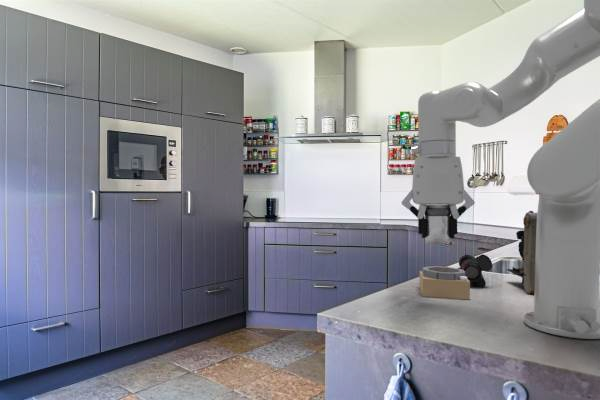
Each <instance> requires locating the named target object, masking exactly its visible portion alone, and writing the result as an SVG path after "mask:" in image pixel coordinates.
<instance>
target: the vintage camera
mask: <svg viewBox="0 0 600 400" xmlns="http://www.w3.org/2000/svg"><path fill="white" fill-rule="evenodd" d="M523 226H524V227H523V229H522V230H518V231H516V232H515V233H516V234H515V235H516V238H517V240H520V241H519V242H518V246H517V247H518V253H519V255H520V258H521V261H522V263H523V265H522V266H521V267H520V268H519V267H518V268H517V267H513V266H512V268H506V271H508V272H510V273H512V274H513V275H516V276H518V277H520V278H522V280H521V284H523V287H524V288H523V289H524V292H525V294H529V295H530V294H531V295H532V294H533V295H534V292H535V256H536V227H537V212H534V211H533V210H529V211H528V212H525V215H524V217H523Z"/></svg>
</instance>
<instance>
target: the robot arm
mask: <svg viewBox="0 0 600 400" xmlns="http://www.w3.org/2000/svg"><path fill="white" fill-rule="evenodd" d="M599 57H600V0H583V7H582V8H580V9H579V10H577V11H576V12H575V13H574V14H573V13H572V15H570V16H568V17H567V18H565V19H563V20H562V21H561V22H559V23H558V24H556V25H555V26H553V27H552V28H550V29H548V30H547V31H545V32H544V33H542V34H540V35H539V36H537V37H536V38H535V39H534V40H532V42H531V44H529V46H528V48H527V50H526V52H525V54H524V56H523V58H522V60H521V62H520V63H519V65H517V67H516V68H515V69H514V70H513V71H512V72H511V73H510V74H508V75H507V76H506V77H505V78H503V79H501V81H500V80H499V82H497V83H496V84H494V85H492V86H491V87H489V88H488V87H486V86H484V85H483V84H481V83H479V82H473V81H471V82H464V83H461V84H457V85H455V86H451V87H450V88H449V87H448V88H446V89H444V90H433V91H429V92H425V93H423V94H422V95H420V96H419V98H418V101H417V112H418V113H417V114H418V115H417V116H418V117H417V124H418V127H417V128H418V129H417V130H418V132H417V133H418V138H417V139H418V143H417V145H416V146H411V154H415V155H418V156H417V157H415V158H414V163H413V172H412V181H411V182H412V183H411V184H412V189H410V191H409V192H408V193H407V195H406V196H405V197H404V198H403V199H402V201H401V205H402V206H404V208H406V209H407V210H409V211H410V212H411V213H412V214H413V215H414V216H415V217H416V218H417V221H418V222H417V224H418V226H417V227H418V228H417V229H418V231H417V233H418V235H421V239H425V238H426V219H425V210H426V206H427V205H449V206H450V239H455V235H458V219H460V217H461V216H462V215H463V214H464V213H465V212H466V211H467V210H468V209H469V208H471V207H473V206H474V205H475V204H476V202H475V200H474V199H473V198H472V196H471V195H469V193H468V192H467V191H466V190H465V185H464V172H463V163H462V161H461V157H460V156H457V150H456V149H457V147H456V146H457V142H456V141H457V137H456V136H457V135H456V129H457V128H456V126H457V125H456V122H461V123H466V124H469V125H471V126H474V127H477V128H486V127H489V126H492V125H495V124H497V123H500V122H501V121H504V119H506V118H508V117H510V116H511V115H514V114H515V113H517V112H519V111H520V110H522V109H523V108H525V107H527V106H529V105H530V104H531V103H532V102H534V101H535V100H537V99H538V98H539V97H540V96H541V95H543V94H544V93H546V92H547V91H548V90H550V88H551V87H553V85H555V84H556V83H557V82H558V81H560V80H561V79H562V78H564V77H566V76H568V75H569V74H571V73H573V72H575V71H576V70H578V69H580V68H581V67H584V66H585V65H586V64H588V63H590V62H591V61H594V60H595V59H597V58H599ZM528 162H529V163H528V166H527V170H526V175H527V176H526V178H527V180H528V184H529V185H530V187H531V189H532V190H533V191H534V192H535V193H536V194H537V195H538V204H537V211H536V213H537V227H536V256H535V292H534V294H533V295H534V297H533V298H534V299H533V300H534V301H533V311H530V312H527V313H525V314H524V315H523V322H524V324H526V325H527V326H528V327H530V328H532V329H535V330H536V331H539V332H543V333H547V334H551V335H553V336H554V335H555V336H560V337H565V338H572V339H583V340H600V321H599V305H600V304H599V303H600V302H599V301H600V98H599V99H597V100H596V101H595V102H593V103H592V104H591V105H589V107H587V108H585V110H584V111H582V112H581V113H580V114H579V115H578V116H577V117H575V118H574V119H573V120H572V121H570V122H569V123H568V124H567V125H566V126H565V127H563V128H562V129H561V130H560V131H558V132H557V133H556V134H554V135H553V137H551V138H550V139H549V140H547V142H545V143H544V144H542V146H540V147H539V149H538V150H537V151H535V152H534V154H533V155H532V157H531V159H530V160H529V161H528ZM411 200H412V202H413V203H414V204H416V205H419V206H418V208H416V206H414V205H413V204H412V203H411ZM461 204H462V205H461ZM457 205H460V206H459V207H458V208H457Z"/></svg>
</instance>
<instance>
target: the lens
mask: <svg viewBox="0 0 600 400" xmlns="http://www.w3.org/2000/svg"><path fill="white" fill-rule="evenodd" d="M424 216H425V219H426V238H424V241H425V242H424V243H425V244H428V245H429V244H430V245H449V244H451V238H450V216H451V214H450V206H449V205H427V206H426V210H425V213H424Z"/></svg>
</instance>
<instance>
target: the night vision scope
mask: <svg viewBox="0 0 600 400" xmlns="http://www.w3.org/2000/svg"><path fill="white" fill-rule="evenodd" d="M458 265H459V266H458V268H457V269H462V270H464V271H465V272H466V277H467V279H468V280H469V281H470V283H475V284H476V286H477V287H478V288H485V287H486V286H487V285H486V280H485V278H484V275H483V273H482V272H483V271H484V272H489V271H491V270H492V268H493V263H492V260H491V258H489V256H488V255H486V254H479V255H478V256H476V257H475V256H473V255H470V254H464V255H462V256H461V257H460V258H459V260H458Z"/></svg>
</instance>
